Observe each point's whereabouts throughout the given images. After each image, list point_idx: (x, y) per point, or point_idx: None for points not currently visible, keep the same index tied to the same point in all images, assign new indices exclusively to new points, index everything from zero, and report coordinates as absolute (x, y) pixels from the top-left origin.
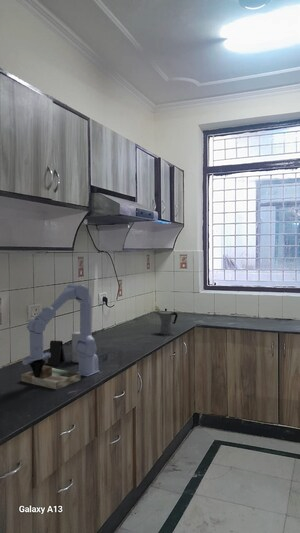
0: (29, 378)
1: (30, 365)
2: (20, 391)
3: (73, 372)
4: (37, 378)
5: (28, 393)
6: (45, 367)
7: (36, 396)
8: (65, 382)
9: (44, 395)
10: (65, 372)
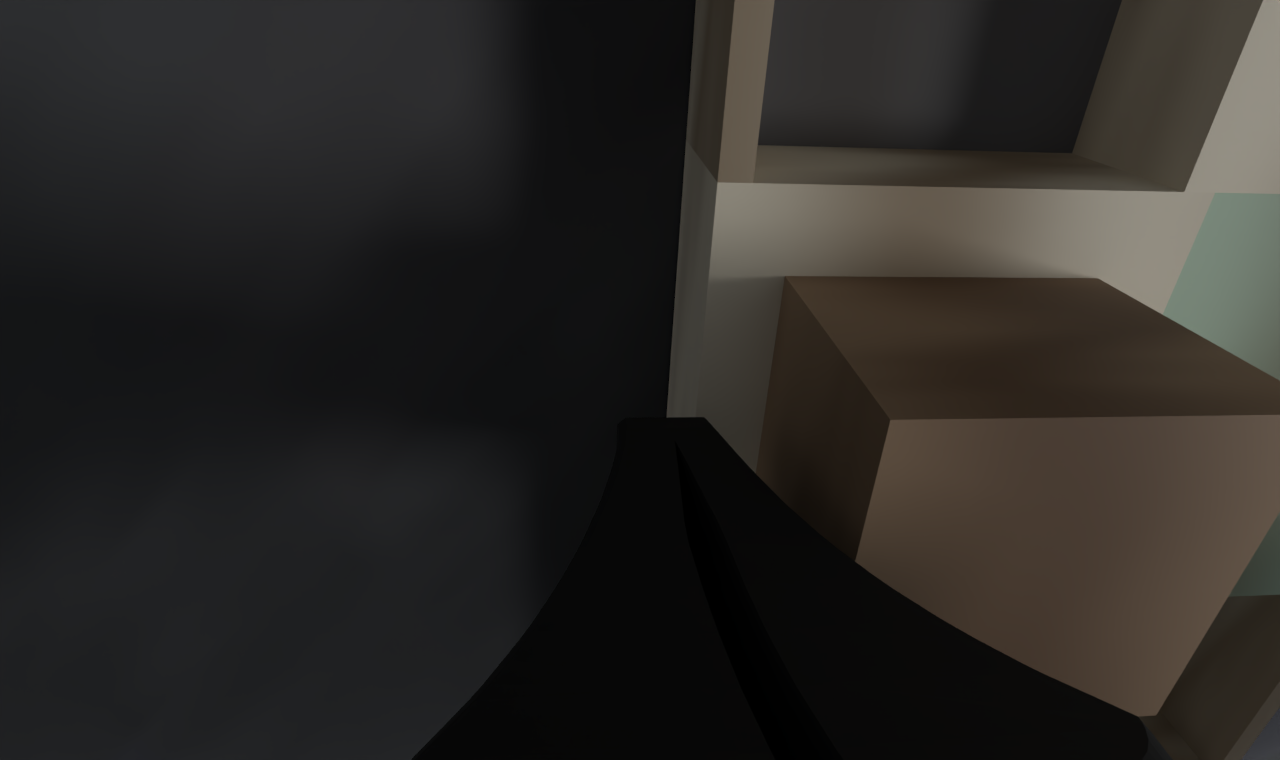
0: (715, 56)
1: (485, 706)
2: (172, 327)
3: (1278, 688)
4: (694, 408)
5: (236, 528)
6: (1053, 632)
7: (256, 698)
8: None
9: (367, 741)
10: (1276, 584)
